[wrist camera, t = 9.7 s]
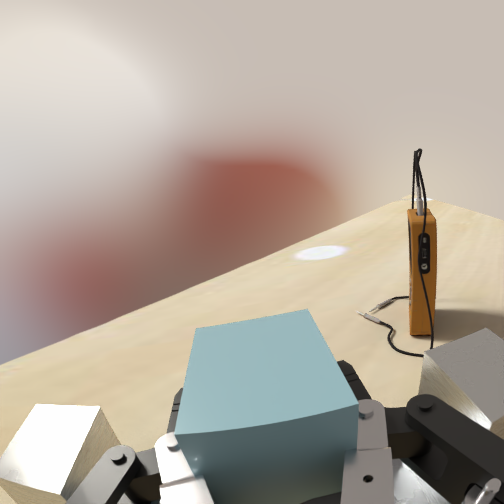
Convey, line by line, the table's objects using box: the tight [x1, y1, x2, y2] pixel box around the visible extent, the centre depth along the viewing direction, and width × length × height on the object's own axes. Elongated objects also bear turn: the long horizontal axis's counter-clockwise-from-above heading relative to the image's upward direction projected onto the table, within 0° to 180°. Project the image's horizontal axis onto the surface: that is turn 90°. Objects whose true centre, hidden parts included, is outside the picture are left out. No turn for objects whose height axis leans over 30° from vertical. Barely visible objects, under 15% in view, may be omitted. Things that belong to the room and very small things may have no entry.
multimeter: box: [356, 149, 437, 357], centre depth 33 cm, size 15×10×20 cm
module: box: [174, 309, 359, 504], centre depth 11 cm, size 4×6×9 cm
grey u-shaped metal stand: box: [0, 328, 504, 504], centre depth 12 cm, size 26×8×10 cm, turn 94°
